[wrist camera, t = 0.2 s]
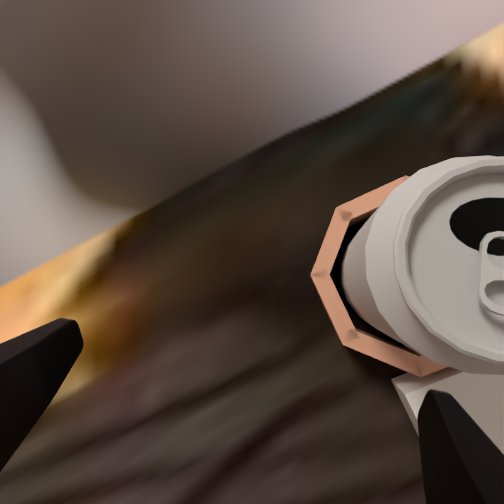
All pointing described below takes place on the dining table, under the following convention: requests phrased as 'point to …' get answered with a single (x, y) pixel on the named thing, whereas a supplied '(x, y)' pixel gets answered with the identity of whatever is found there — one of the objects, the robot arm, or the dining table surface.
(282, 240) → the dining table surface
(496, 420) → the tray
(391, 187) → the collar
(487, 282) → the can
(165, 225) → the dining table surface
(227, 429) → the dining table surface
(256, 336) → the dining table surface
